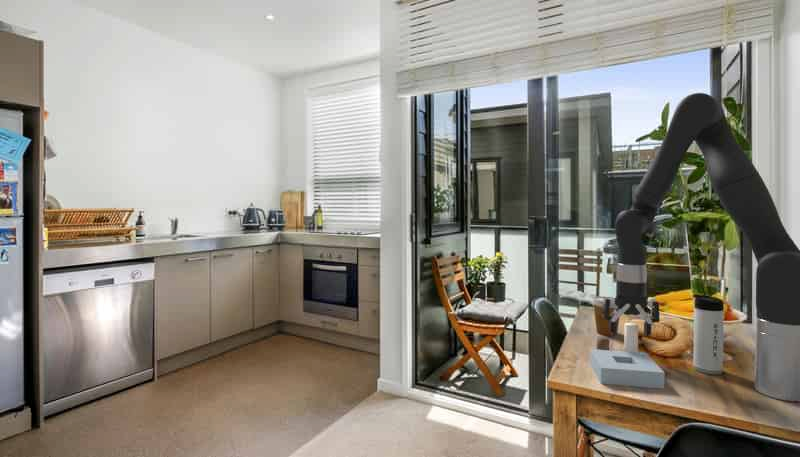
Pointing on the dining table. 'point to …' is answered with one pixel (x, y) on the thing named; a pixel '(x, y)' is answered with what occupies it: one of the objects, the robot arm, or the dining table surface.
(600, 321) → the disposable coffee cup
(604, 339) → the short pin
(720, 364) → the travel mug
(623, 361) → the jig block
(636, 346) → the long pin
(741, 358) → the dining table surface
